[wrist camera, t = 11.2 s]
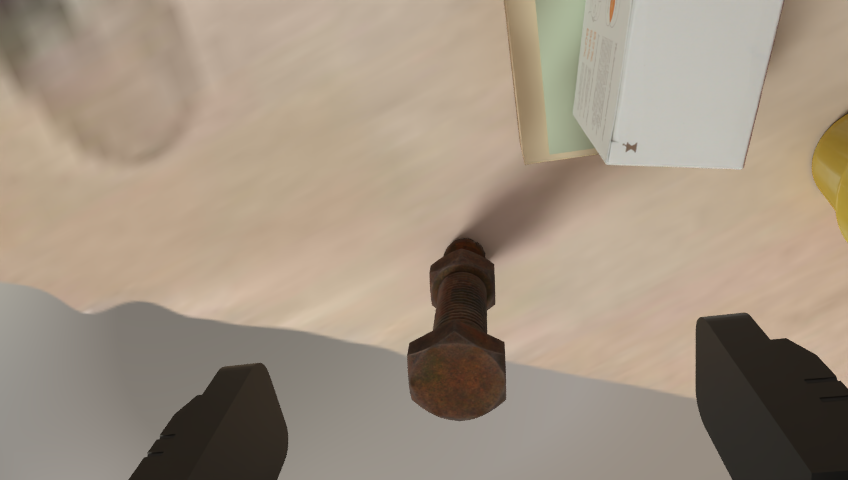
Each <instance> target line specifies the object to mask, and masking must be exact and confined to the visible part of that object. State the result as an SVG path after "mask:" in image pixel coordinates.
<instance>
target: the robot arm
mask: <svg viewBox="0 0 848 480" xmlns="http://www.w3.org/2000/svg"><path fill="white" fill-rule="evenodd" d="M696 398H697V404H698V408H699V412H700V416H701V419H702V422H703V424H704V426H705V428H706V430H707V432H708V434H709V436H710V438H711V440H712V442H713V444H714V445H715V447H716V449H717V451H718V453H719V455H720V457H721V459H722V461H723V463H724V465H725V466H726V468H727V470H728V472H729V474H730V476H731V478H732V480H848V388H847V387H846V386H845V385H844V384H843V383H842V382H841V381H837V377H836V376H835V374H834V373H833V372H832V371H831V370H830V369H829V368H828V367H827V366H826V365H825V364H824V363H823V362H822V360H821V359H820V358H819V357H818V356H817V355H815V354H814V353H812V352H810V351H808V350H806V349H805V348H803V347H801V346H799V345H797V344H796V343H794V342H792V341H790V340H788V339H787V338H784V339H773V340H770V339H769V338H768V336H767V335H766V334H765V333H764V332H763V330H762V329H761V328H760V327H759V326H758V324H757V323H756V322H755V321H754V320H753V319H752V317H751V316H750V315H749V314H747V313H736V314H727V315H717V316H708V317H700V318H699V319H698V320H697V324H696ZM287 450H288V431H287V426H286V423H285V420H284V417H283V414H282V411H281V408H280V405H279V402H278V399H277V396H276V393H275V390H274V387H273V384H272V381H271V378H270V375H269V373H268V371H267V368H266V367H265V366H264V365H263V364H262V363H255V364H244V365H235V366H226V367H222V368H221V369H220V370H219V371H218V372H217V374H216V375H215V377H214V378H213V380H212V381H211V383H210V384H209V386H208V387H207V388H206V390H205V392H204V393H203V394H202V395H197V396H196V397H195V398H193V399H192V400H191V401H190V402H189V403H188V404H186V405H185V406H184V407H183V408H182V409H180V410H179V411H178V412H177V413H176V414H175V415H174V416H173V417H172V419H171V420H170V422H169V423H168V424H167V426H166V427H165V429H164V430H163V432H162V433H161V434H160V439H159V440H156V441H155V443H154V444H153V446H152V447H151V449H150V450H149V451H148V457H145V458H144V459H143V460H142V461H141V463H140V464H139V466H138V467H137V469H136V470H135V471H134V473H133V474H132V476H131V477H130V478H129V480H277V479H278V476H279V473H280V471H281V469H282V466H283V464H284V461H285V458H286V455H287Z"/></svg>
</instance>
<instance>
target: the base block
mask: <svg viewBox="0 0 848 480" xmlns="http://www.w3.org/2000/svg"><path fill="white" fill-rule="evenodd" d="M585 2H586V0H504V5H505V14H506V23H507V32H508V41H509V50H510V58H511V67H512V76H513V85H514V94H515V103H516V112H517V121H518V130H519V139H520V145H521V150H522V154H523V159H524V163H525V165H527V164H534V163H541V162H548V161H555V160H562V159H569V158H576V157H583V156H591V155H598V154H599V153H598V152H597V150H596V149H595V147H594V146H593V144H592V143H591V141H590V140H589V138H588V137H587V135H586V134H585V132H584V131H583V129H582V128H581V126H580V125H579V123H578V122H577V120H576V119H575V117H574V116H573V106H574V98H575V89H576V81H577V72H578V63H579V54H580V46H581V37H582V28H583V19H584V10H585Z"/></svg>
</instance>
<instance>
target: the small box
mask: <svg viewBox="0 0 848 480" xmlns="http://www.w3.org/2000/svg"><path fill="white" fill-rule="evenodd" d="M783 4H784V0H586V2H585V10H584V19H583V28H582V37H581V46H580V54H579V63H578V72H577V81H576V89H575V98H574V106H573V116H574V117H575V119H576V120H577V122H578V123H579V125H580V126H581V128H582V129H583V131H584V132H585V134H586V135H587V137H588V138H589V140H590V141H591V143H592V144H593V146H594V147H595V149H596V150H597V152H598V153H599V155H600V156H601V158H602V159H603V161H604V162H605V164H606V165H625V166H656V167H685V168H714V169H738V170H739V169H743V168H744V164H745V160H746V156H747V152H748V148H749V144H750V140H751V136H752V131H753V127H754V123H755V119H756V115H757V111H758V107H759V102H760V98H761V94H762V89H763V85H764V81H765V77H766V73H767V69H768V65H769V61H770V57H771V52H772V48H773V44H774V41H775V36H776V32H777V28H778V24H779V20H780V16H781V12H782V8H783Z"/></svg>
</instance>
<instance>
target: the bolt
mask: <svg viewBox="0 0 848 480" xmlns="http://www.w3.org/2000/svg"><path fill="white" fill-rule="evenodd" d="M430 292H431V301H432V305H433V306H434V307H435V308H436V313H435V320H434V326H433V331H432V332H430V333H428V334H426V335H424V336H422V337H420V338H418V339H416V340H414V341H412V342H411V343H410V344H409V349H408V354H407V360H408V361H407V362H408V377H409V388H410V394H411V398H412V400H413V401H414V402H415V403H417V404H418V405H419V406H420V407H422V408H423V409H425V410H426V411H428V412H430V413H432V414H434V415H436V416H438V417H441V418H444V419H448V420H455V421H464V420H471V419H475V418H478V417H480V416H483V415H485V414H486V413H488V412H490V411H492V410H493V409H495V408H496V407H497V406H499V405H500V404H501V403H502V402H504V401H505V400H506V369H505V368H506V366H505V345H504V342H503V341H501V340H499V339H497V338H495V337H492V336H490V335H488V334H487V310H488V309H490V308H491V307H492V306H493V305H495V275H494V264H493V263H492V262H490V261H489V260H487V259H486V258H485V252H484V250H483V248H482V246H481V245H480V244H479V243H474V242H473V240H471V239H465V238H463V239H458V240H455V241H454V242H452V243H451V244H450V245H449V246H448V248H447V249H446V251H445V253H444V256H443V257H442V258H441V259H439V260H438V261H436V262H435V263H434V264H432V265H431V268H430Z"/></svg>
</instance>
